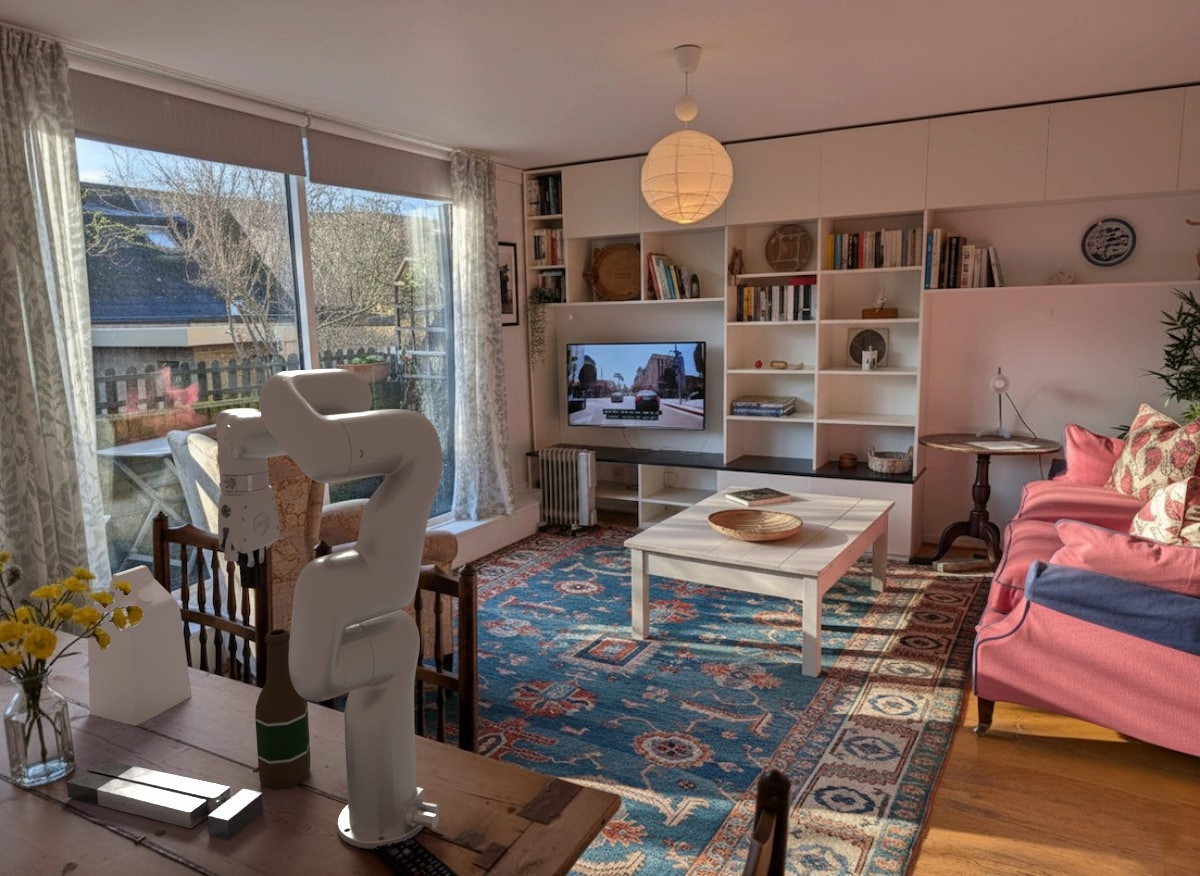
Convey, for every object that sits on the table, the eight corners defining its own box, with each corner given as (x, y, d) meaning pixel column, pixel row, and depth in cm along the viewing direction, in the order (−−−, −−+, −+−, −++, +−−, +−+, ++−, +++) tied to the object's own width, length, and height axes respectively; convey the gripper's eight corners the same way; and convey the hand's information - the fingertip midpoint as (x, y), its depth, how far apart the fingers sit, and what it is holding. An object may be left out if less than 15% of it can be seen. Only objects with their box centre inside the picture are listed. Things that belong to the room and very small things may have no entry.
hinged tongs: (263, 811, 120) (262, 793, 120) (229, 839, 114) (227, 820, 113) (107, 774, 129) (106, 757, 129) (68, 799, 123) (66, 780, 123)
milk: (147, 686, 160) (136, 557, 156) (191, 696, 156) (181, 564, 152) (89, 714, 149) (76, 576, 145) (135, 726, 145) (123, 584, 141)
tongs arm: (241, 804, 121) (240, 789, 121) (219, 823, 117) (217, 807, 117) (105, 774, 129) (104, 759, 129) (79, 790, 125) (77, 775, 124)
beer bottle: (294, 794, 125) (285, 644, 121) (248, 787, 126) (238, 639, 122) (321, 766, 132) (314, 624, 128) (277, 760, 134) (269, 620, 130)
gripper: (231, 492, 130) (239, 603, 133) (292, 475, 144) (298, 575, 147) (193, 489, 132) (201, 599, 135) (256, 472, 146) (262, 571, 149)
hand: (251, 586), depth 141 cm, fingers closed
